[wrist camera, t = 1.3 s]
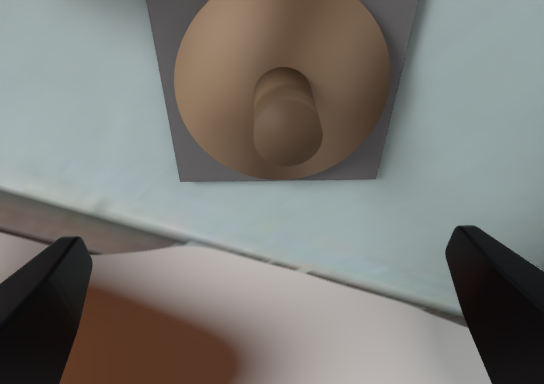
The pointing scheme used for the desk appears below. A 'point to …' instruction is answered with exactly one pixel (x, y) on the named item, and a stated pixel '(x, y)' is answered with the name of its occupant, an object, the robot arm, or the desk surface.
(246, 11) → the lid
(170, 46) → the trivet
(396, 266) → the desk surface
